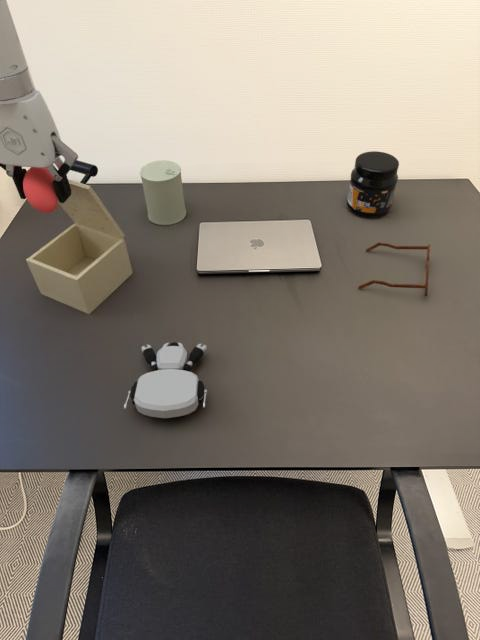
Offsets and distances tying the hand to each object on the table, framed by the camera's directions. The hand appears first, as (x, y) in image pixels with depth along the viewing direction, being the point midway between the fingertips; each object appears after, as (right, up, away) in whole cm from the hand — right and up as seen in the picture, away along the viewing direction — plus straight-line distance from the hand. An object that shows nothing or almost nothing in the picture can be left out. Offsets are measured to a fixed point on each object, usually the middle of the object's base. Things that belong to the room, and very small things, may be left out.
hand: (46, 195), depth 79 cm
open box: (+1, -13, +17) cm, 22 cm away
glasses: (+64, -12, +17) cm, 68 cm away
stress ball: (0, 0, +1) cm, 1 cm away
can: (+15, +4, +34) cm, 38 cm away
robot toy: (+21, -32, -1) cm, 39 cm away
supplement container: (+64, +6, +34) cm, 73 cm away
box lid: (+3, 0, +8) cm, 9 cm away
